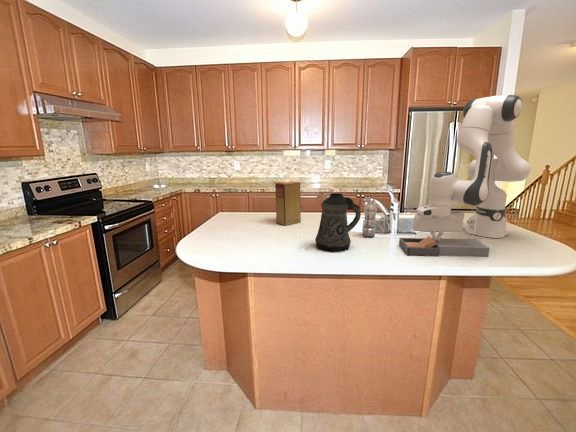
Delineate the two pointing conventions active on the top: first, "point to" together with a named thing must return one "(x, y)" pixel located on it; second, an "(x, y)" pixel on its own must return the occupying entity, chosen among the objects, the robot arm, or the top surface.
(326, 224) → the beer stein
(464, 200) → the robot arm
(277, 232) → the top surface
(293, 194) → the food packaging
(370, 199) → the plastic bottle
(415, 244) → the tile
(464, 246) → the plate
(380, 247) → the top surface
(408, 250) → the box
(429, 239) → the tile
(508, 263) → the top surface
